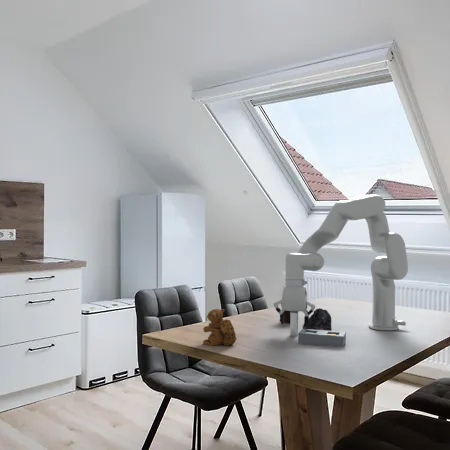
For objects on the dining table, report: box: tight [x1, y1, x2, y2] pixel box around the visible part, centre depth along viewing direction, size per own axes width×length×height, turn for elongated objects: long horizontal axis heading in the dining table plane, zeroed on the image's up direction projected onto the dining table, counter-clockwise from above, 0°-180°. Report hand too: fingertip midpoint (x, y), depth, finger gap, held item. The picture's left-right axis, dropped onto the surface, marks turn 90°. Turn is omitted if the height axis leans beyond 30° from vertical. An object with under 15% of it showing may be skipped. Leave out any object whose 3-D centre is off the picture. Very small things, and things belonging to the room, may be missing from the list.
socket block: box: [297, 328, 347, 348], centre depth 212 cm, size 17×8×4 cm, turn 71°
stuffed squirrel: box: [202, 308, 238, 347], centre depth 209 cm, size 10×14×13 cm
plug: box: [289, 311, 299, 337], centre depth 225 cm, size 3×3×11 cm
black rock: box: [301, 308, 333, 331], centre depth 234 cm, size 13×14×10 cm
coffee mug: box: [280, 303, 290, 324], centre depth 254 cm, size 12×9×10 cm
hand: (294, 324), depth 225 cm, fingers open, 9 cm apart
